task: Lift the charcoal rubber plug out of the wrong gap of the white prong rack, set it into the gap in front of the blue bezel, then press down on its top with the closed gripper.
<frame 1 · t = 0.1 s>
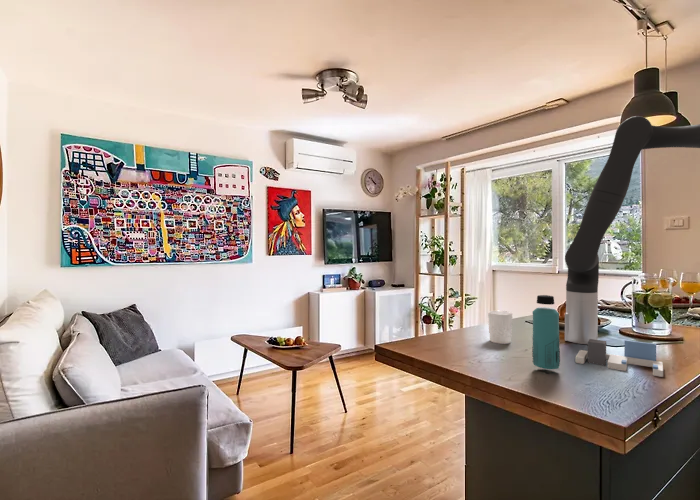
beverage bottle: (545, 371, 99), on the table
white prong rack: (617, 365, 103), on the table
white cup: (500, 342, 129), on the table
plug: (597, 362, 106), resting in white prong rack
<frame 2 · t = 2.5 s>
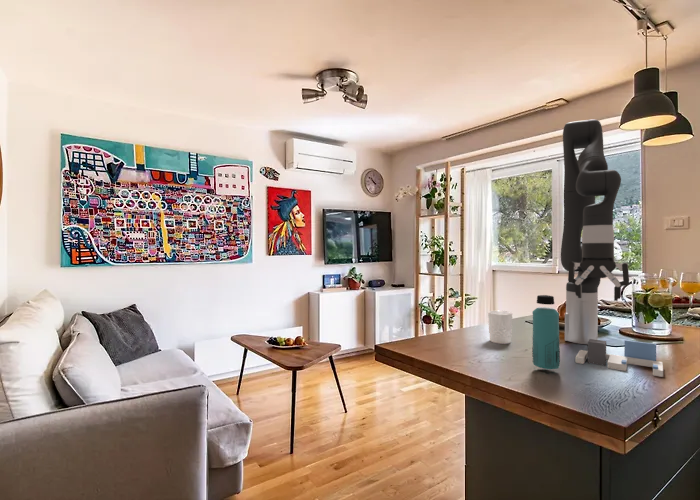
hand: (597, 299, 105), 18 cm above the table, fingers open, 8 cm apart
nothing on the table moved.
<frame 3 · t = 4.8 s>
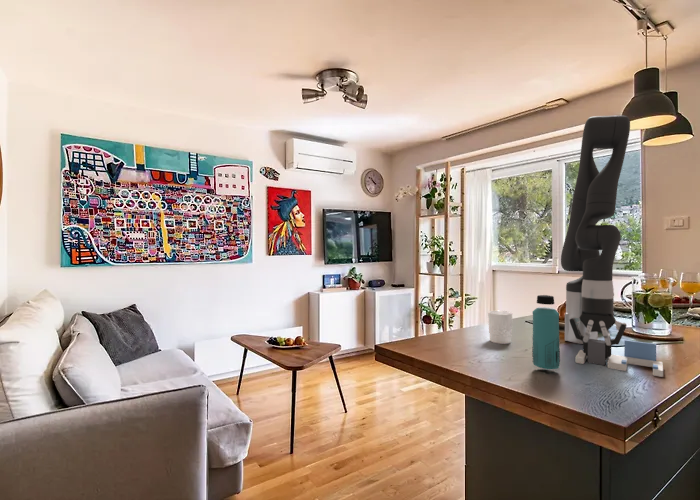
hand: (597, 356, 106), 2 cm above the table, fingers closed on plug, 4 cm apart
plug: (596, 362, 106), resting in white prong rack, touching gripper
everything else where it was.
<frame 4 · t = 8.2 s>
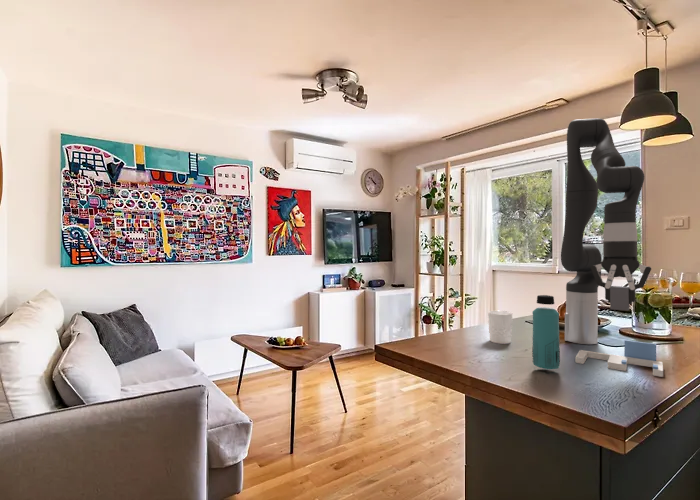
hand: (620, 302, 102), 17 cm above the table, fingers closed on plug, 4 cm apart
plug: (619, 308, 102), point 16 cm above the table, touching gripper
everything else where it was.
when the fingers open (3 cm above the table, at t = 11.7 s): plug drops 1 cm, resting in white prong rack.
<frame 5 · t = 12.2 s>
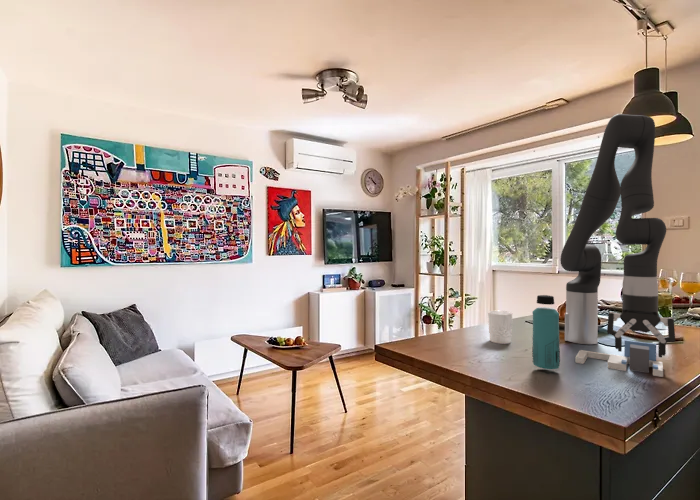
hand: (639, 353, 100), 4 cm above the table, fingers open, 8 cm apart
plug: (639, 369, 100), resting in white prong rack
everything else where it was.
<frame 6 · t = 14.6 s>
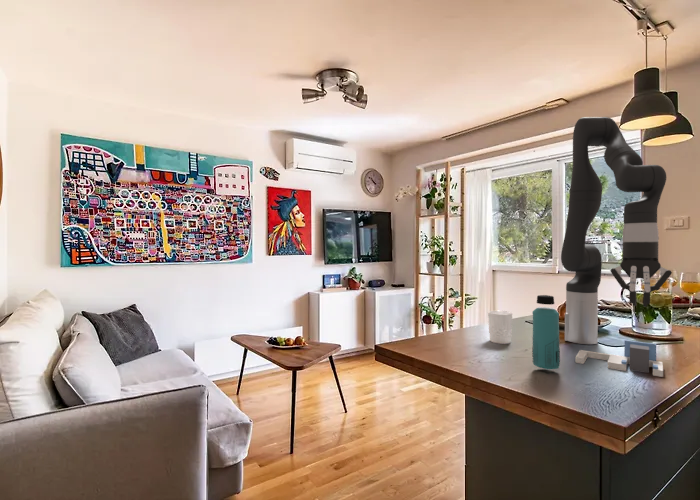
hand: (639, 305, 99), 17 cm above the table, fingers closed
nothing on the table moved.
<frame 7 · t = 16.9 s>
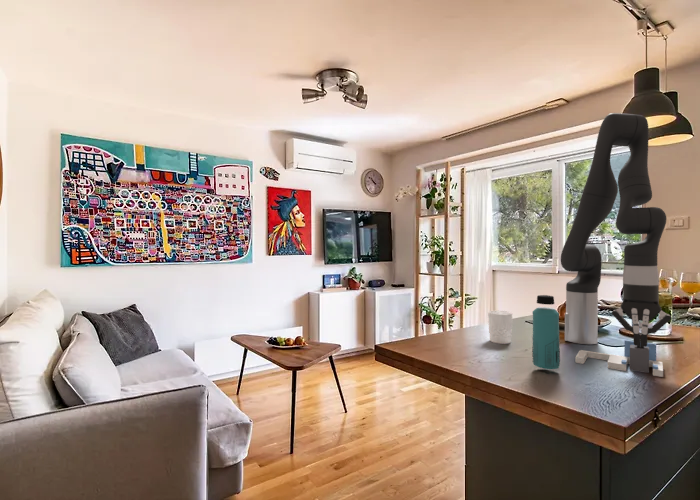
hand: (640, 347, 99), 6 cm above the table, fingers closed
plug: (639, 369, 100), resting in white prong rack, touching gripper
everything else where it was.
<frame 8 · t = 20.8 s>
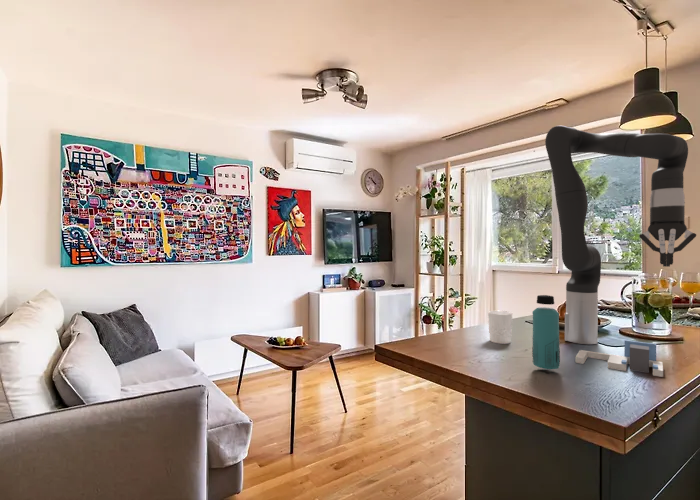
hand: (666, 266, 107), 27 cm above the table, fingers closed
plug: (639, 369, 100), resting in white prong rack
everything else where it was.
at the end: plug 0.1 cm from the target spot on the white prong rack, point 0.0 cm above the white prong rack's base; plug tilted 0°; the gripper is holding nothing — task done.
